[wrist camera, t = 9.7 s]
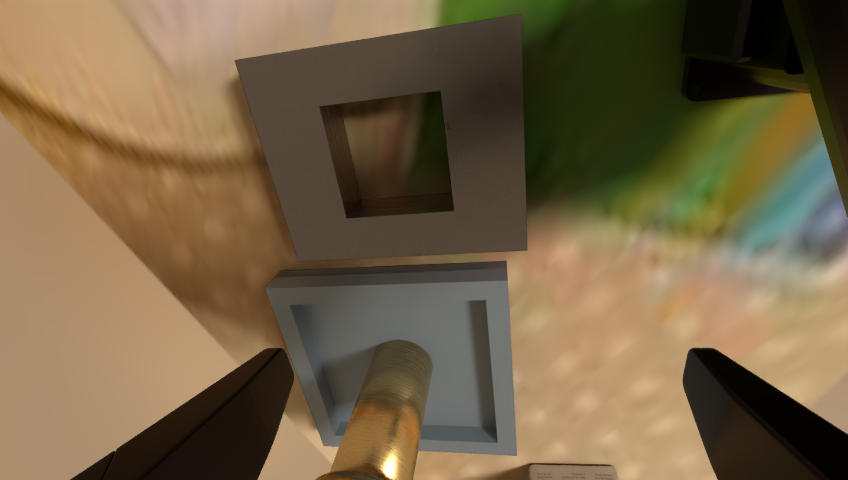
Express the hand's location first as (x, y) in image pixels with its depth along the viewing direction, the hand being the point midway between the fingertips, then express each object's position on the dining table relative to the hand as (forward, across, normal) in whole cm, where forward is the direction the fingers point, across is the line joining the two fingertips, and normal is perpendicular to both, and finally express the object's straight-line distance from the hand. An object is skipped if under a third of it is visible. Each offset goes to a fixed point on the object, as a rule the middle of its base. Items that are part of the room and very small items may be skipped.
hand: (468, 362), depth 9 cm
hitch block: (+13, +4, -2) cm, 14 cm away
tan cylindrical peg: (+12, +6, +12) cm, 18 cm away
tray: (+13, +6, +12) cm, 19 cm away
